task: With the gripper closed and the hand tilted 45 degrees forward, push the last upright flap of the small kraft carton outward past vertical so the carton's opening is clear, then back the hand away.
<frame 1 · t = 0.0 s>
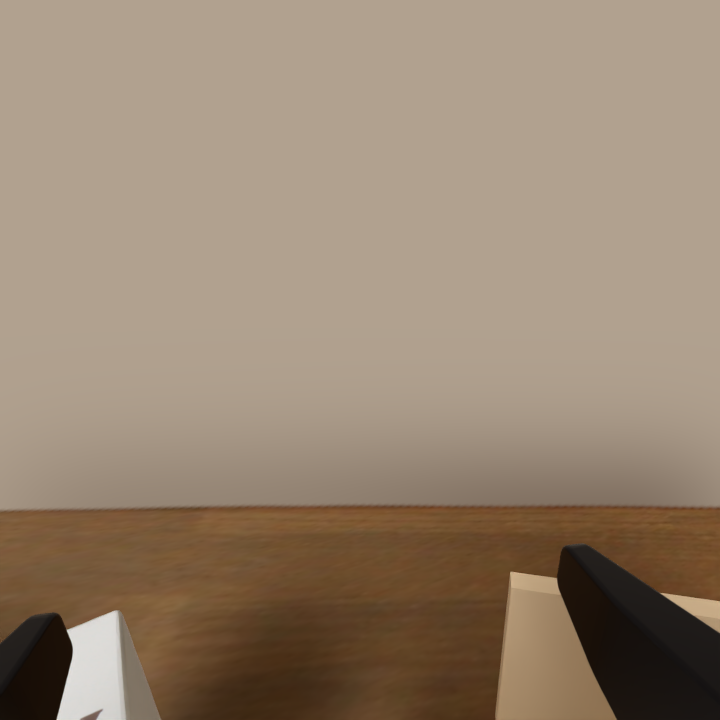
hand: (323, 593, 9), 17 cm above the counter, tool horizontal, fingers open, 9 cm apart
far flap: (667, 685, 15), point 8 cm above the counter, hinge at 0.0°
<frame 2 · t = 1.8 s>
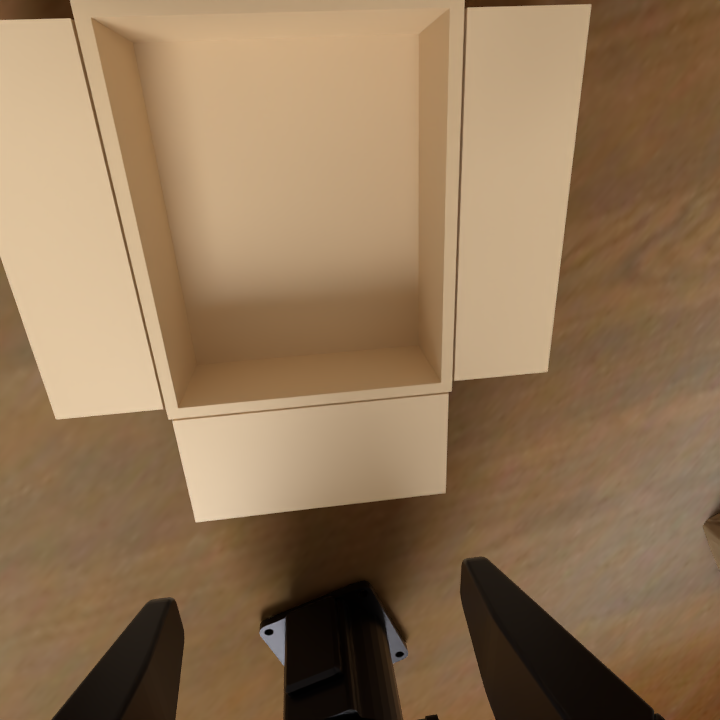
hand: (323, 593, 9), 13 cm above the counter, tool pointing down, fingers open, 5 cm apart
carton: (296, 214, 19), on the counter
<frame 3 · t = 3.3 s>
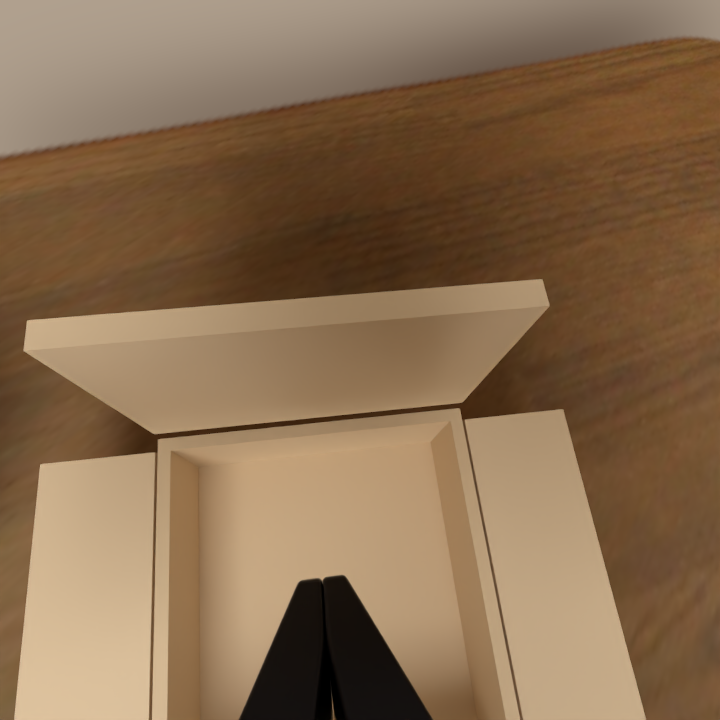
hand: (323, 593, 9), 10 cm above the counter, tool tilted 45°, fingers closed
far flap: (306, 371, 13), point 8 cm above the counter, hinge at 0.0°
carton: (330, 608, 18), on the counter
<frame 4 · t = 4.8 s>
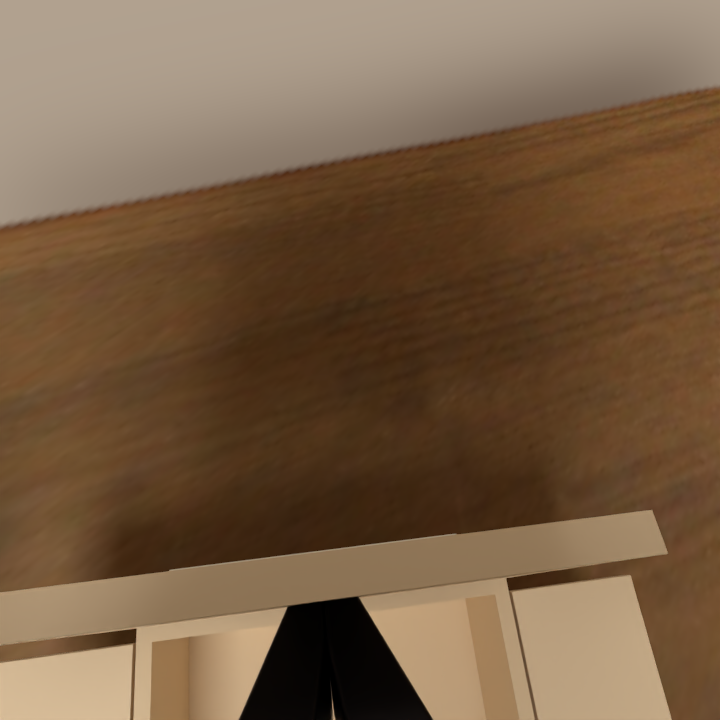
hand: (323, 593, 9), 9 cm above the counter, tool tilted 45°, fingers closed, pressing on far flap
far flap: (322, 582, 10), point 8 cm above the counter, hinge at 5.1°, touching gripper
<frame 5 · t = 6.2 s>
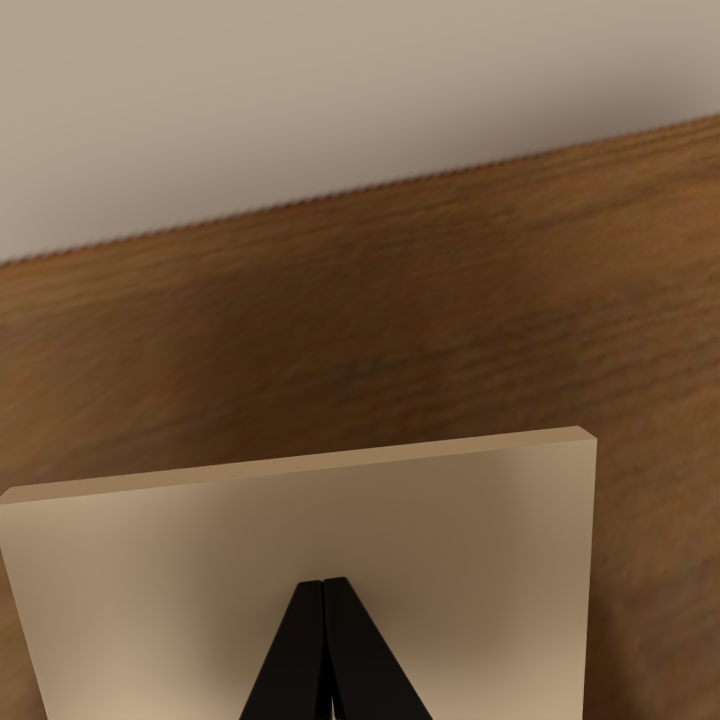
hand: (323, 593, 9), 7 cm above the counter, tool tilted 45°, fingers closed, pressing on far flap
far flap: (326, 634, 9), point 6 cm above the counter, hinge at 55.9°, touching gripper
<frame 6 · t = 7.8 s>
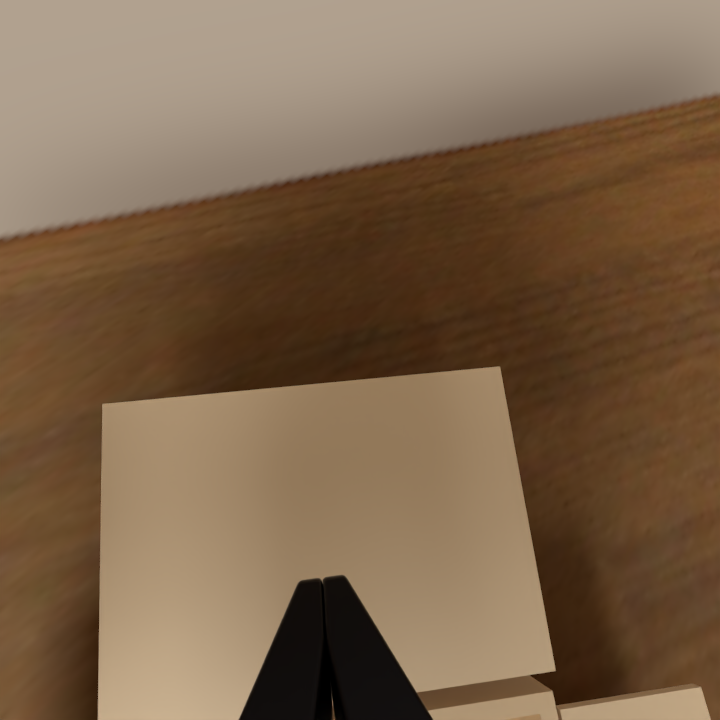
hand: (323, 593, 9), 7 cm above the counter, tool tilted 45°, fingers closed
far flap: (321, 531, 12), point 5 cm above the counter, hinge at 84.4°
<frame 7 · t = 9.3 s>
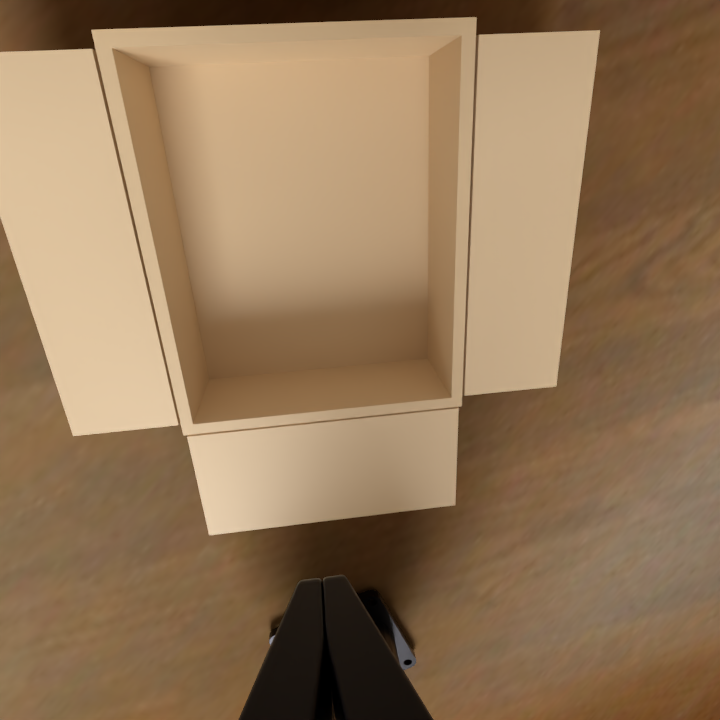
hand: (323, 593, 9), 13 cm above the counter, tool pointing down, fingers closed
carton: (307, 232, 19), on the counter
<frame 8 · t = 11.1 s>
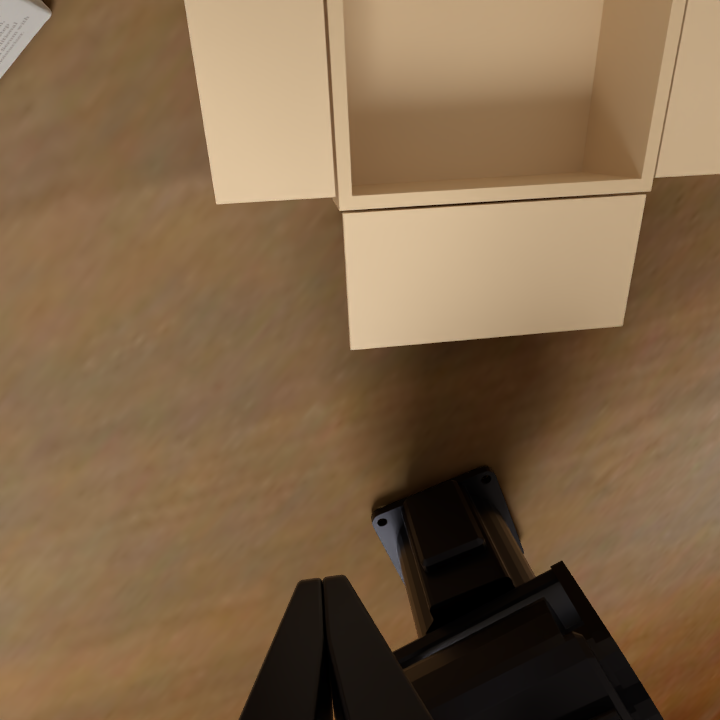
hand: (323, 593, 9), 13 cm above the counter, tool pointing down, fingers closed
carton: (467, 0, 17), on the counter
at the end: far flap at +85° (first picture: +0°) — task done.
